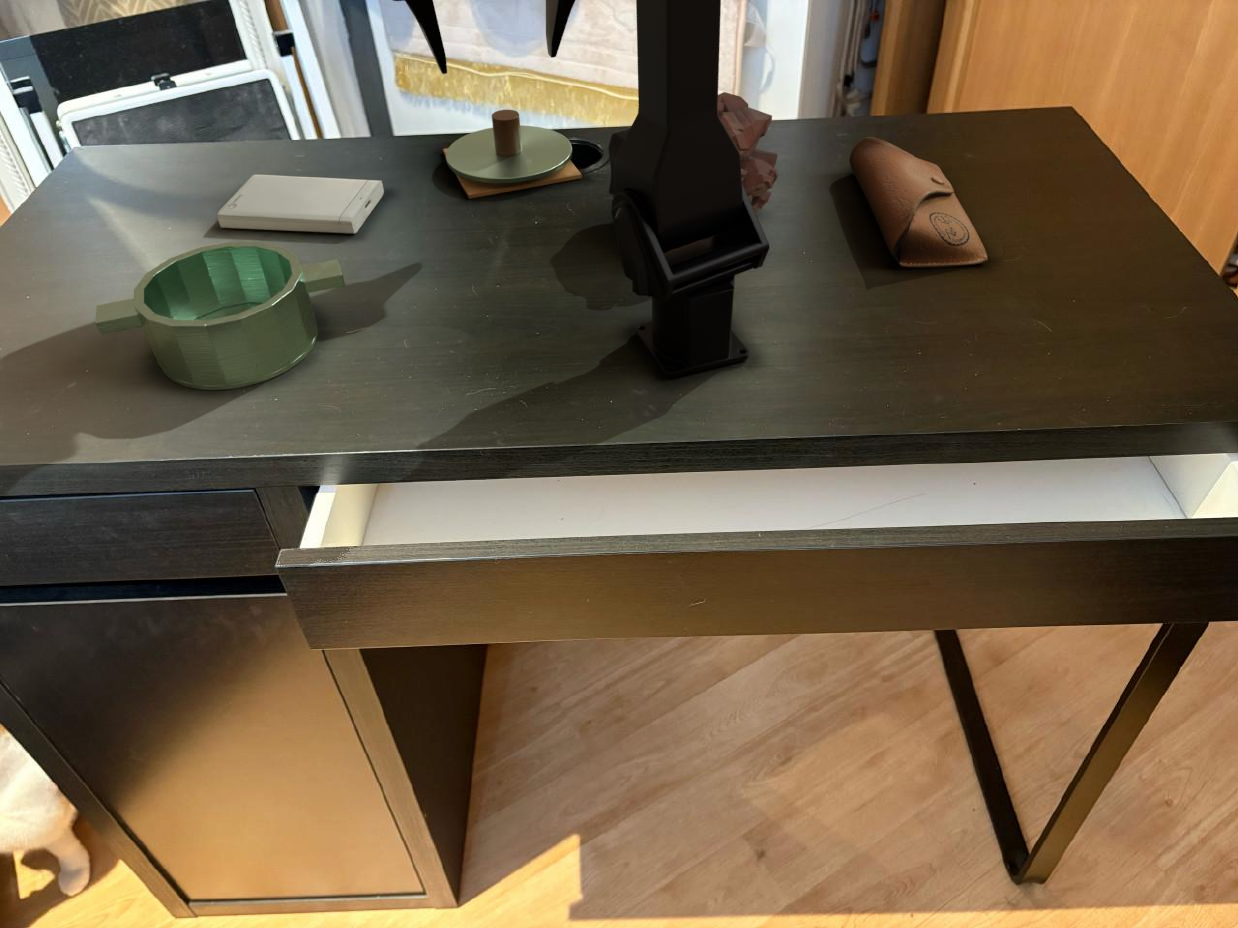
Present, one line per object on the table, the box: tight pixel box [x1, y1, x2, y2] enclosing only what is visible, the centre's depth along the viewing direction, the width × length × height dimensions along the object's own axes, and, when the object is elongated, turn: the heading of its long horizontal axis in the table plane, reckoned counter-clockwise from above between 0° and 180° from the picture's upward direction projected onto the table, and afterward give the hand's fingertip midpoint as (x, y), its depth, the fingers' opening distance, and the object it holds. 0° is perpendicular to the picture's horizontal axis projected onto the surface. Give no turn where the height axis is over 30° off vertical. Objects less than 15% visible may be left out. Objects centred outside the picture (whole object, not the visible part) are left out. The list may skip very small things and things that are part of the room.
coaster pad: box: [442, 147, 583, 200], centre depth 94 cm, size 11×11×1 cm
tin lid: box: [445, 109, 573, 183], centre depth 92 cm, size 12×12×5 cm
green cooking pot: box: [94, 241, 346, 391], centre depth 70 cm, size 11×17×5 cm
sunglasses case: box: [848, 136, 989, 269], centre depth 83 cm, size 18×7×7 cm, turn 2°
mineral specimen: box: [611, 91, 780, 252], centre depth 80 cm, size 12×13×15 cm
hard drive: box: [216, 174, 385, 235], centre depth 87 cm, size 2×8×12 cm
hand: (498, 64), depth 79 cm, fingers open, 9 cm apart
